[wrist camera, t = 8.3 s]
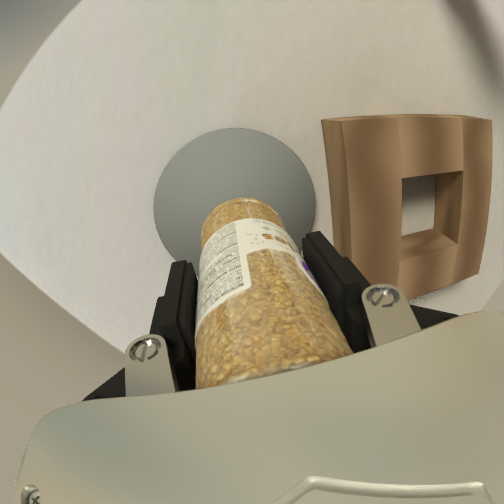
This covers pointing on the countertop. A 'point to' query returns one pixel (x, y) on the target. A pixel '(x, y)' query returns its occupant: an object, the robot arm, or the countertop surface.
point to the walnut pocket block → (390, 196)
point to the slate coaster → (230, 187)
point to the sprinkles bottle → (257, 300)
